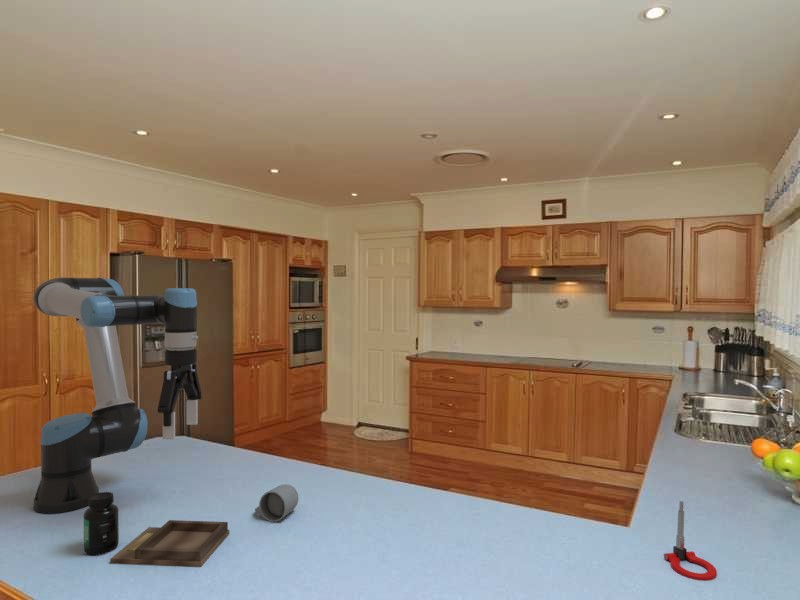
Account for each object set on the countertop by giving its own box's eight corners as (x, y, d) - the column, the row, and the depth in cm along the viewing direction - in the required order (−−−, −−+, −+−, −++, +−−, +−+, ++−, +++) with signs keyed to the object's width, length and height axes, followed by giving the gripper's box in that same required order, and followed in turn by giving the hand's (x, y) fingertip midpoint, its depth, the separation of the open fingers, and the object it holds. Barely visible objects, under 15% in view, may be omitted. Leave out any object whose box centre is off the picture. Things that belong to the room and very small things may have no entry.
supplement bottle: (82, 559, 114) (82, 504, 113) (85, 545, 120) (84, 493, 119) (118, 551, 117) (118, 498, 117) (118, 539, 123) (118, 488, 123)
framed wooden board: (110, 563, 112) (110, 549, 112) (149, 531, 127) (148, 518, 127) (201, 566, 110) (201, 552, 110) (229, 534, 125) (229, 521, 125)
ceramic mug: (300, 510, 139) (300, 481, 138) (285, 524, 131) (284, 493, 131) (265, 507, 142) (264, 478, 141) (248, 519, 134) (247, 489, 134)
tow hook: (726, 581, 106) (694, 556, 115) (728, 519, 105) (696, 498, 114) (688, 584, 105) (659, 559, 114) (690, 522, 104) (661, 501, 113)
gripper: (173, 354, 121) (173, 446, 121) (213, 343, 146) (213, 419, 146) (141, 354, 121) (141, 445, 122) (187, 343, 146) (187, 418, 146)
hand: (181, 431), depth 134 cm, fingers open, 13 cm apart
